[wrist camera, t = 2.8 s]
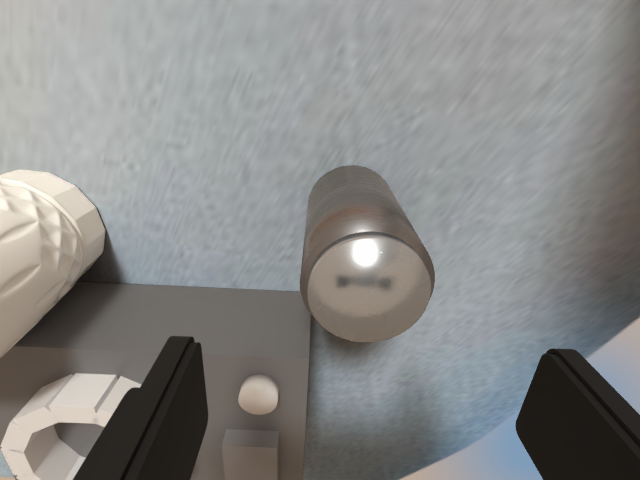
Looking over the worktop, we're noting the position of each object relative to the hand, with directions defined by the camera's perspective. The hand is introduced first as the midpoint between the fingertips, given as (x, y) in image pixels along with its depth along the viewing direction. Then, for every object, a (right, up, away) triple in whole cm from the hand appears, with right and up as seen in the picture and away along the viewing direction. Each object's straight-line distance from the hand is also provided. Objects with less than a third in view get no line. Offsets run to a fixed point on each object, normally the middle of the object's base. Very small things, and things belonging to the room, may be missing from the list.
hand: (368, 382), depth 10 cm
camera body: (-11, -4, +16) cm, 20 cm away
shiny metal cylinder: (0, +6, +11) cm, 12 cm away
